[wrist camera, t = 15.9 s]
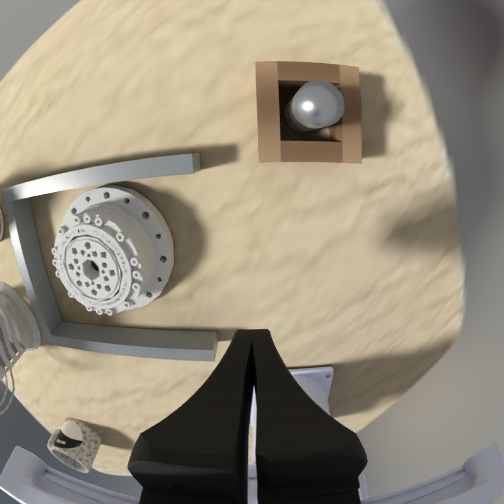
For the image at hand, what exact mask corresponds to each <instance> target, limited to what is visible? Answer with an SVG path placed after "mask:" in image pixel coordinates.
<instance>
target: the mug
mask: <svg viewBox="0 0 504 504" xmlns="http://www.w3.org/2000/svg"><path fill="white" fill-rule="evenodd" d="M101 442H102V438H101V436H100V435H99V434H98V433H97V432H96V431H95V430H94V429H93V428H92V427H90V426H89V425H87V424H85V423H84V422H82V421H79V420H77V419H74V418H67V419H66V420H65V422H64V424H63V426H62V427H61V429H60V430H55V431H54V433H53V434H52V436H51V437H50V439H49V442H48V445H47V447H48V449H49V450H50V451H51V452H52V454H53V455H54V456H55V457H56V458H58V459H59V460H60V461H62V462H63V463H64V464H66V465H68V466H69V467H72V468H73V469H75V470H78V471H80V472H84V473H89V472H90V469H91V467H92V464H93V462H94V459H95V457H96V454H97V452H98V449H99V447H100V444H101Z"/></svg>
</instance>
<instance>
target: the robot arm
mask: <svg viewBox="0 0 504 504" xmlns="http://www.w3.org/2000/svg"><path fill="white" fill-rule="evenodd" d="M333 373H334V370H333V368H332V367H318V368H305V369H287V367H286V365H285V364H284V362H283V360H282V358H281V357H280V355H279V353H278V351H277V349H276V347H275V345H274V342H273V340H272V337H271V334H270V331H269V330H268V329H250V330H237V331H236V332H235V335H234V337H233V339H232V341H231V343H230V345H229V347H228V349H227V351H226V353H225V354H224V356H223V358H222V359H221V361H220V362H219V364H218V365H217V367H216V368H215V370H214V371H213V372H212V374H211V375H210V376H209V378H208V379H207V380H206V381H205V383H204V384H203V385H202V386H201V387H200V388H199V389H198V390H197V391H196V392H195V393H194V394H193V395H192V396H191V397H190V398H189V399H188V400H187V401H186V402H185V403H184V404H183V405H182V406H181V407H179V408H178V409H177V410H175V411H174V412H173V413H172V414H170V415H169V416H168V417H166V418H165V419H163V420H162V421H161V422H159V423H157V424H156V425H154V426H152V427H151V428H149V429H147V430H146V431H144V432H142V433H141V434H140V436H139V437H138V439H137V441H136V443H135V445H134V447H133V450H132V453H131V456H130V459H129V462H128V470H129V471H130V473H131V474H132V476H133V477H134V478H135V479H136V480H137V481H138V482H139V483H140V484H141V485H142V486H143V490H142V493H141V498H135V497H131V496H128V495H124V494H120V493H117V492H113V491H110V490H107V489H104V488H100V487H98V486H95V485H92V484H89V483H86V482H84V481H81V480H78V479H75V478H73V477H71V476H68V475H66V474H63V473H61V472H59V471H57V470H54V469H52V468H50V467H48V466H46V464H45V463H44V462H43V461H42V460H41V459H40V458H38V457H37V456H36V455H34V454H32V453H31V452H29V451H27V450H25V449H23V448H21V447H19V446H16V447H15V449H14V451H13V452H12V454H11V456H10V458H9V460H8V462H7V464H6V466H5V468H4V470H3V472H2V474H1V476H0V488H1V489H2V490H3V491H4V492H6V493H7V494H8V495H10V496H11V497H12V498H14V499H15V500H17V501H18V502H20V503H21V504H491V503H492V502H494V501H495V500H497V499H498V498H500V497H501V496H502V495H504V458H503V457H502V455H501V453H500V451H499V449H498V447H497V445H496V443H493V444H491V445H489V446H488V447H486V448H484V449H482V450H480V451H478V452H477V453H475V454H474V455H473V456H471V457H470V458H469V459H468V460H467V461H466V462H465V463H464V465H462V466H460V467H458V468H456V469H453V470H451V471H449V472H447V473H444V474H442V475H440V476H437V477H435V478H432V479H430V480H427V481H424V482H422V483H419V484H416V485H413V486H410V487H407V488H404V489H401V490H398V491H394V492H391V493H388V494H384V495H380V496H377V497H372V498H369V496H368V490H367V485H366V481H365V477H364V473H363V469H364V468H365V466H366V464H367V462H368V461H367V456H366V453H365V450H364V448H363V446H362V444H361V442H360V440H359V438H358V436H357V435H356V433H354V432H353V431H351V430H350V429H348V428H346V427H345V426H343V425H342V424H341V423H339V422H338V421H336V420H335V419H334V418H333V417H331V414H330V410H329V405H328V397H329V392H330V388H331V383H332V378H333ZM328 374H329V375H328ZM250 416H251V426H252V427H253V454H252V465H248V435H249V424H250Z"/></svg>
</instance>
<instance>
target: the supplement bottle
mask: <svg viewBox="0 0 504 504" xmlns="http://www.w3.org/2000/svg"><path fill="white" fill-rule="evenodd" d="M3 230H4V221H3V215H2V211H1V208H0V240H1V238H2V235H3Z"/></svg>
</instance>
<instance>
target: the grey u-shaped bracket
mask: <svg viewBox="0 0 504 504" xmlns="http://www.w3.org/2000/svg"><path fill="white" fill-rule="evenodd" d="M200 170H201V160H200V153H188V154H178V155H168V156H160V157H152V158H144V159H137V160H130V161H123V162H117V163H111V164H105V165H99V166H94V167H89V168H84V169H79V170H74V171H69V172H64V173H60V174H56V175H51V176H47V177H43V178H39V179H35V180H31V181H28V182H24V183H20V184H17V185H14V186H11V187H7V188H4V189H2V193H3V199H4V206H5V211H6V217H7V222H8V227H9V231H10V236H11V240H12V244H13V248H14V252H15V256H16V259H17V263H18V266H19V270H20V273H21V276H22V279H23V282H24V286H25V288H26V291H27V294H28V297H29V300H30V303H31V305H32V308H33V310H34V313H35V316H36V318H37V321H38V323H39V325H40V328H41V330H42V332H43V335H44V337H45V339H46V341H47V343H48V344H52V345H58V346H63V347H69V348H74V349H80V350H87V351H93V352H101V353H108V354H116V355H125V356H134V357H145V358H157V359H171V360H190V361H215V356H216V351H217V345H218V338H217V331H184V330H158V329H139V328H125V327H112V326H100V325H90V324H80V323H72V322H63V320H62V317H61V314H60V312H59V309H58V306H57V303H56V300H55V297H54V295H53V292H52V288H51V285H50V282H49V279H48V276H47V272H46V269H45V265H44V261H43V258H42V254H41V250H40V246H39V242H38V237H37V233H36V228H35V223H34V218H33V213H32V207H31V201H30V197H32V196H37V195H41V194H46V193H51V192H57V191H62V190H68V189H73V188H79V187H85V186H91V185H98V184H104V183H111V182H119V181H126V180H134V179H143V178H152V177H161V176H172V175H183V174H194V173H196V172H198V171H200Z"/></svg>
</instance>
